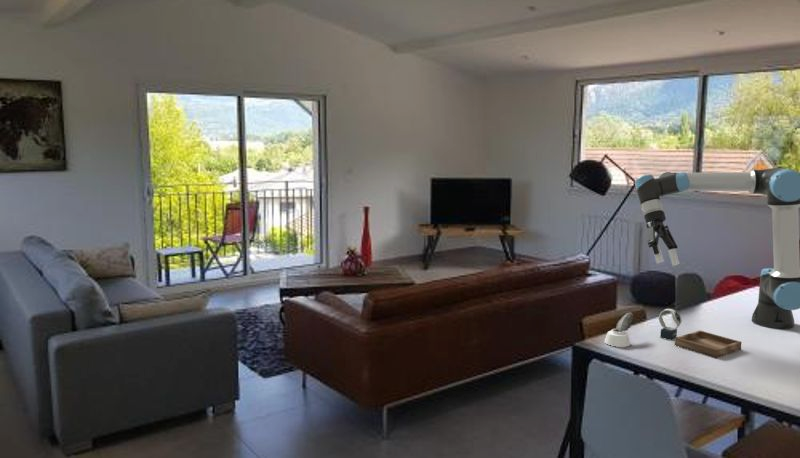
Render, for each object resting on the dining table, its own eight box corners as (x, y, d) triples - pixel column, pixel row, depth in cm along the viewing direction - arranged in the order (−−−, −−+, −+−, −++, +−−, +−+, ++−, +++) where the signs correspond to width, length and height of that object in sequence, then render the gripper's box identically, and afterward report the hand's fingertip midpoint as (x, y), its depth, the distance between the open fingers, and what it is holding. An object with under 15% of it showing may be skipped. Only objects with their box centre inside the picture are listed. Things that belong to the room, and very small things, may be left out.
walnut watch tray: (699, 337, 240) (699, 330, 240) (740, 349, 227) (741, 341, 227) (674, 345, 231) (675, 337, 231) (716, 358, 218) (716, 350, 218)
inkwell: (600, 343, 233) (601, 318, 232) (618, 332, 247) (619, 307, 245) (624, 349, 227) (626, 322, 226) (642, 337, 241) (643, 312, 240)
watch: (677, 341, 236) (679, 313, 235) (655, 336, 242) (657, 309, 240) (681, 337, 241) (684, 310, 239) (660, 333, 246) (662, 306, 244)
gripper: (659, 219, 259) (673, 268, 252) (629, 212, 242) (644, 264, 236) (676, 213, 254) (691, 263, 247) (647, 205, 237) (662, 258, 231)
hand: (668, 263), depth 241 cm, fingers open, 13 cm apart
